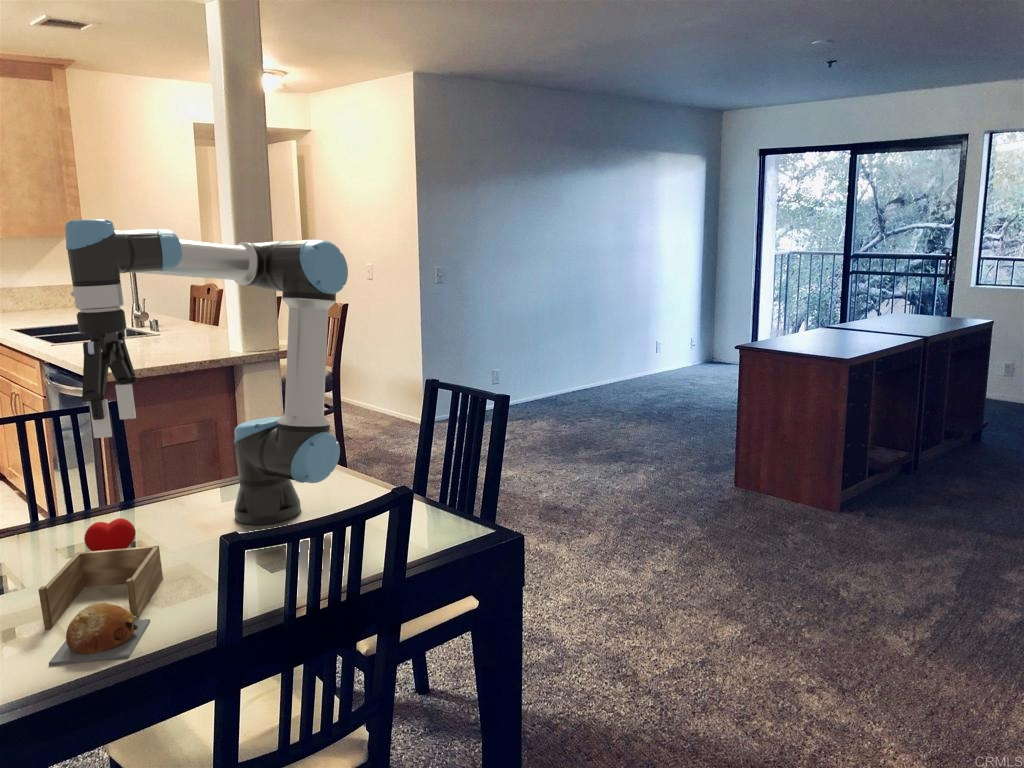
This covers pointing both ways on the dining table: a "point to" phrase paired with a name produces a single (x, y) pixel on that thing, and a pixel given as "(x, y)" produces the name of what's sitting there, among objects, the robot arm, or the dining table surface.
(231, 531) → the dining table surface
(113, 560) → the box
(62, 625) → the dining table surface
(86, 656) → the slate board
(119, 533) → the red heart shape
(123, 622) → the bread roll
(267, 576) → the dining table surface
